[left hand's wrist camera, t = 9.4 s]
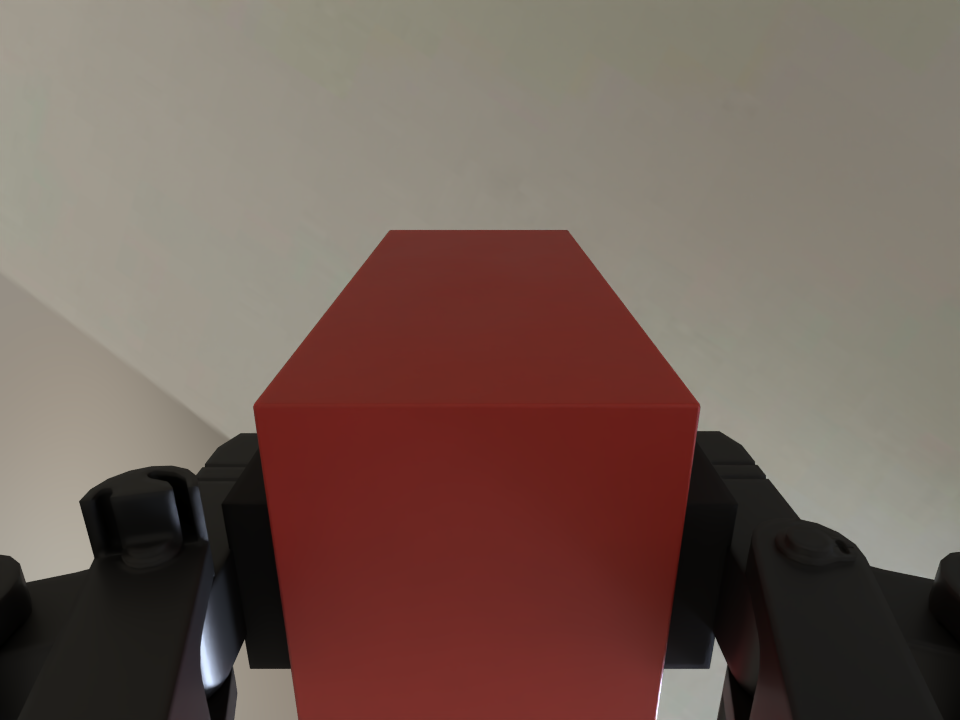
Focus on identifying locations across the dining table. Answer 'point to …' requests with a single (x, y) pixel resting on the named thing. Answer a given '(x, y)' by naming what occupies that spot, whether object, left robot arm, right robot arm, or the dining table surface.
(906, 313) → the dining table surface
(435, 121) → the dining table surface
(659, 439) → the block
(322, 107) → the dining table surface
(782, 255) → the dining table surface
